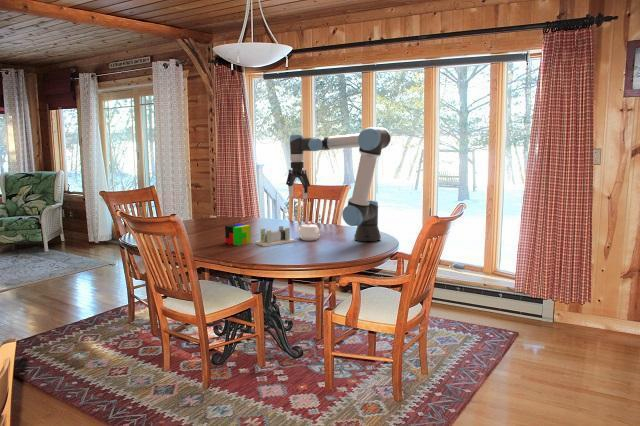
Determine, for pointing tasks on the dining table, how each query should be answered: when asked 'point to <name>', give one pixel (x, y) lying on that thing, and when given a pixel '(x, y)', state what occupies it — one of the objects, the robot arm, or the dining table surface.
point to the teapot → (309, 231)
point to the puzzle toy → (238, 234)
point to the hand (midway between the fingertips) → (298, 197)
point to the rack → (269, 243)
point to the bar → (273, 236)
